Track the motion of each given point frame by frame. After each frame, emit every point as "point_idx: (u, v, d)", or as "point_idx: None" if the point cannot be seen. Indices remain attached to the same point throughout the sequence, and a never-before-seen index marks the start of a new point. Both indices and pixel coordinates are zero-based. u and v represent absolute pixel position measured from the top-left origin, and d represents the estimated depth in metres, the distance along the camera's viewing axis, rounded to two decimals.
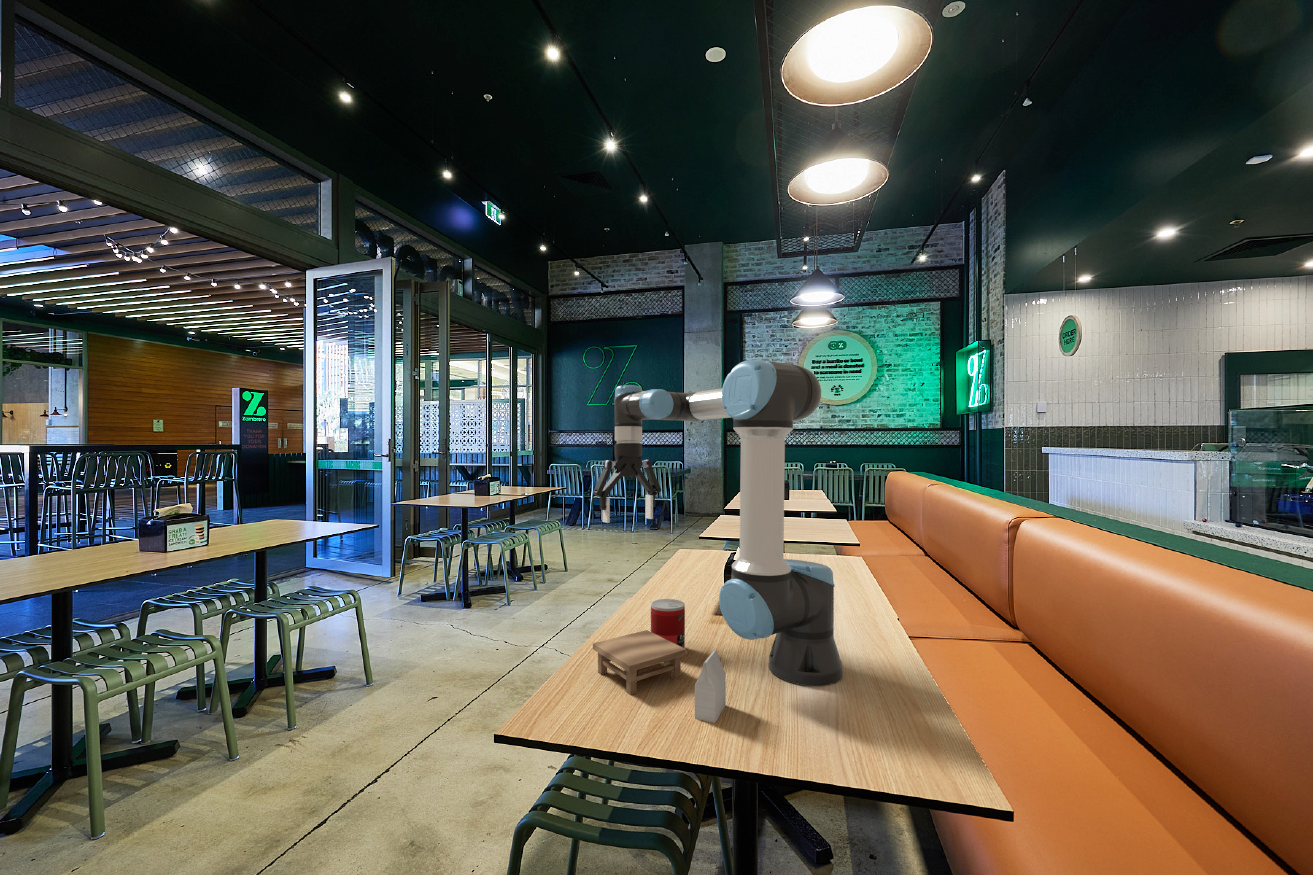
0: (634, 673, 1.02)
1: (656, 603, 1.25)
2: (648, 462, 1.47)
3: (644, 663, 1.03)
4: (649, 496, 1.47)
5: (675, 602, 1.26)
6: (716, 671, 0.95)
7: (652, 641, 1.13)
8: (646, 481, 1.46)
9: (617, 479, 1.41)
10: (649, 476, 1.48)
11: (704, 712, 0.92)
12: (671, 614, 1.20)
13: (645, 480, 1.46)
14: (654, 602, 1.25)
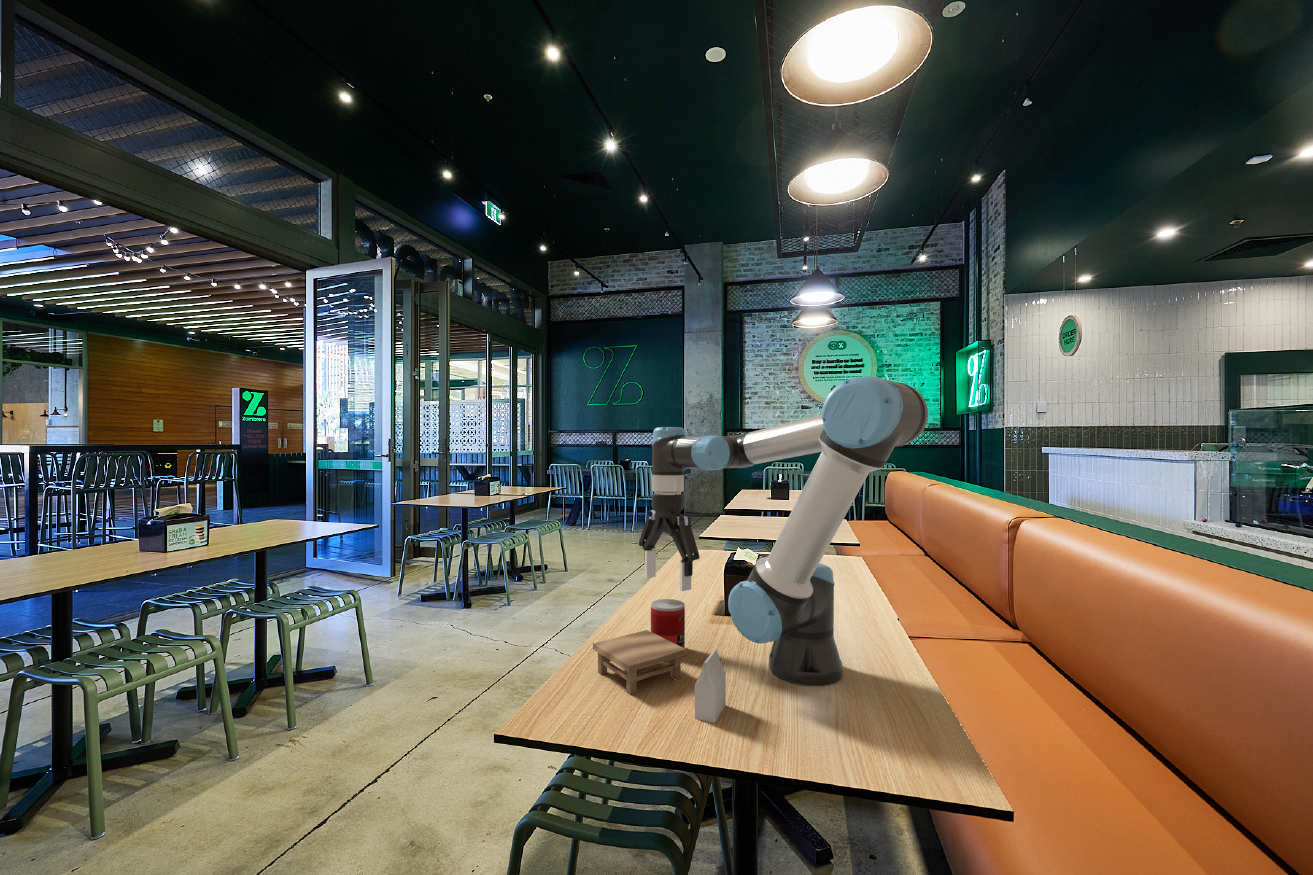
0: (634, 673, 1.02)
1: (656, 603, 1.25)
2: (679, 519, 1.19)
3: (644, 663, 1.03)
4: None
5: (675, 602, 1.26)
6: (716, 671, 0.95)
7: (652, 641, 1.13)
8: (677, 542, 1.19)
9: (653, 533, 1.27)
10: None
11: (704, 712, 0.92)
12: (671, 614, 1.20)
13: (676, 541, 1.19)
14: (654, 602, 1.25)
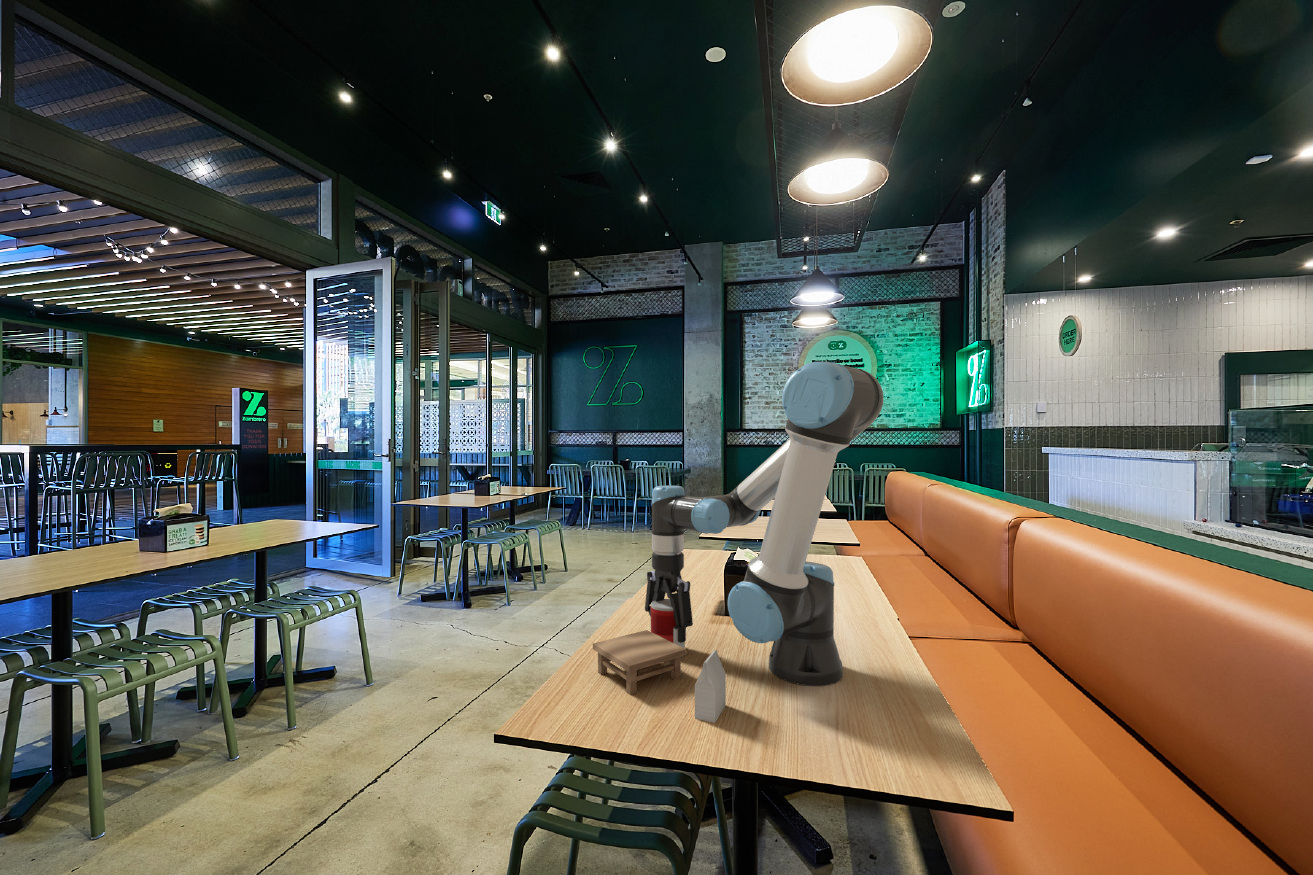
0: (634, 673, 1.02)
1: (656, 603, 1.25)
2: (679, 585, 1.19)
3: (644, 663, 1.03)
4: None
5: None
6: (716, 671, 0.95)
7: (652, 641, 1.13)
8: (673, 606, 1.20)
9: (656, 595, 1.25)
10: None
11: (704, 712, 0.92)
12: (671, 614, 1.20)
13: (672, 604, 1.20)
14: (654, 602, 1.25)
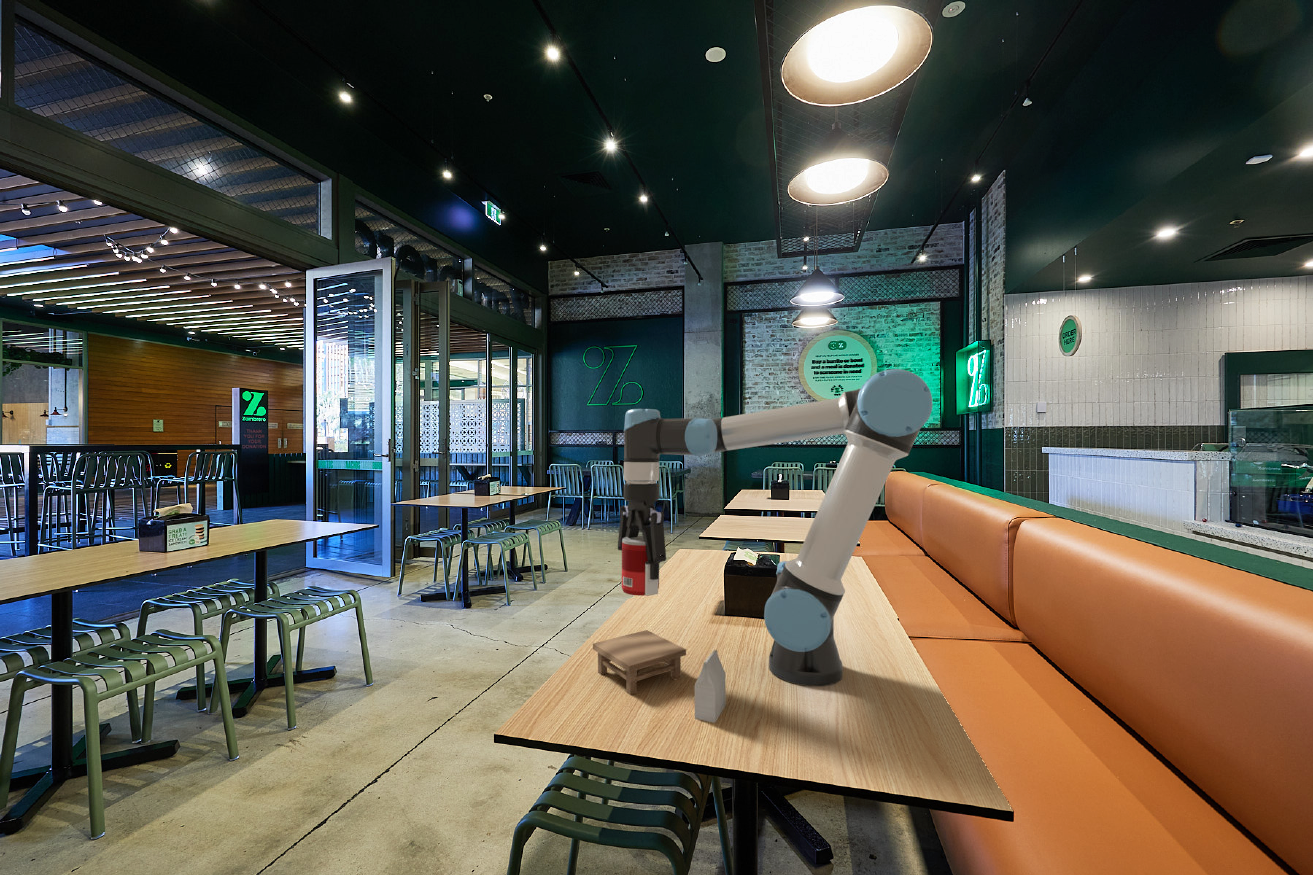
0: (634, 673, 1.02)
1: (628, 539, 1.13)
2: (651, 515, 1.07)
3: (644, 663, 1.03)
4: None
5: None
6: (716, 671, 0.95)
7: (652, 641, 1.13)
8: (645, 540, 1.08)
9: (629, 530, 1.14)
10: None
11: (704, 712, 0.92)
12: (643, 548, 1.08)
13: (645, 538, 1.08)
14: (626, 538, 1.13)
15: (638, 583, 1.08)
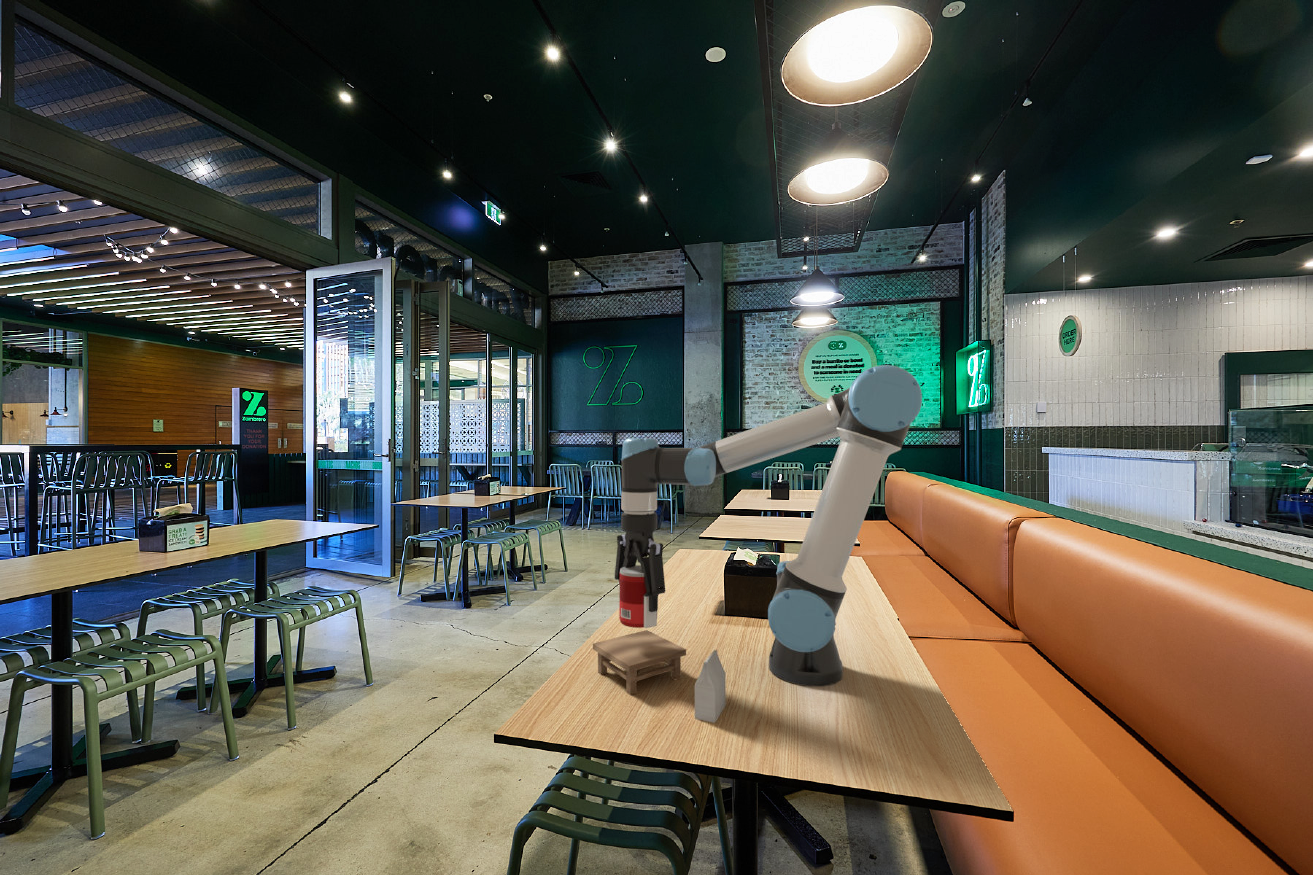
0: (634, 673, 1.02)
1: (626, 569, 1.12)
2: (650, 547, 1.05)
3: (644, 663, 1.03)
4: None
5: None
6: (716, 671, 0.95)
7: (652, 641, 1.13)
8: (644, 572, 1.07)
9: (626, 560, 1.12)
10: None
11: (704, 712, 0.92)
12: (642, 580, 1.07)
13: (643, 570, 1.07)
14: (624, 568, 1.12)
15: (637, 615, 1.07)
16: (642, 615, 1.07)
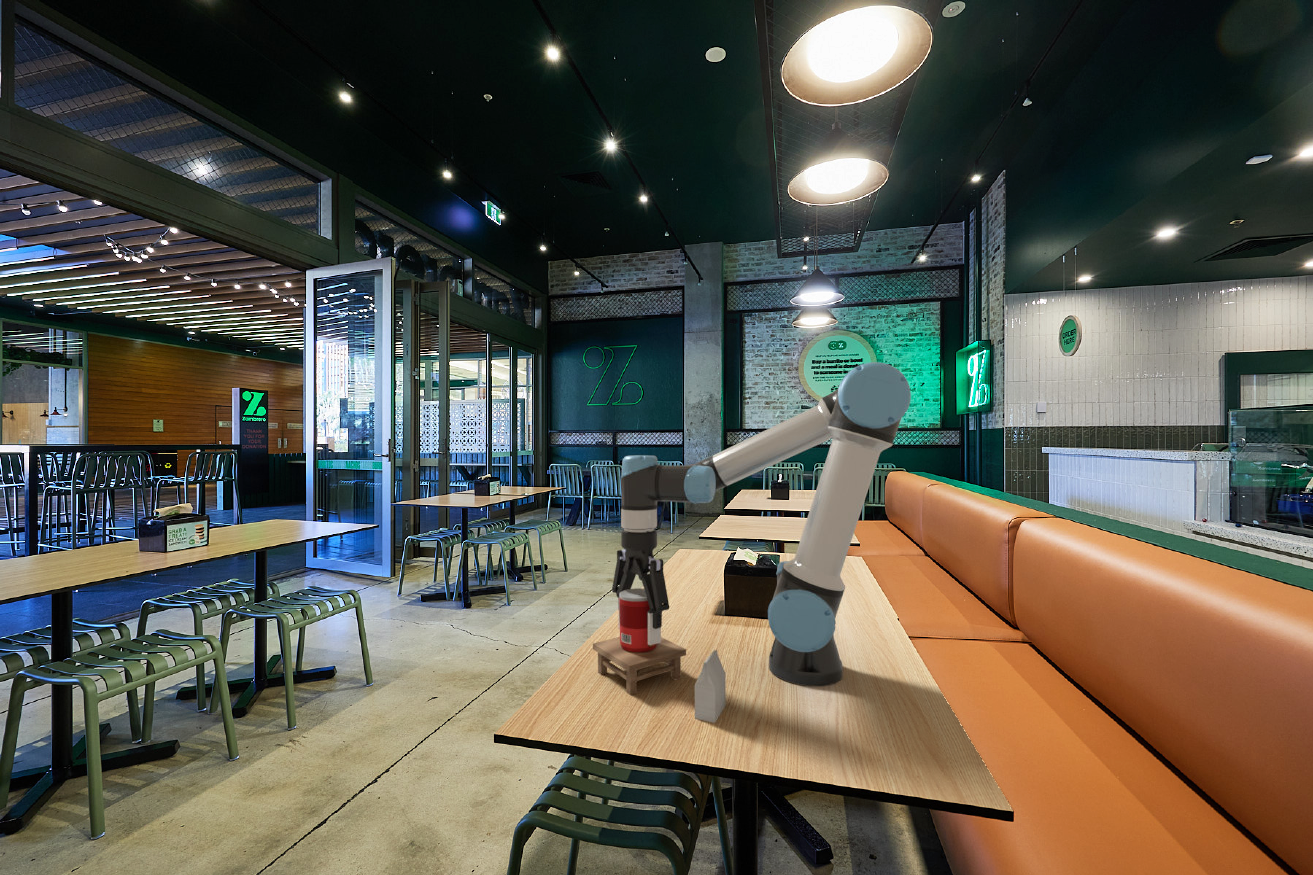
0: (634, 673, 1.02)
1: (625, 593, 1.11)
2: (651, 563, 1.05)
3: (644, 663, 1.03)
4: None
5: None
6: (716, 671, 0.95)
7: None
8: (646, 588, 1.06)
9: (625, 575, 1.13)
10: None
11: (704, 712, 0.92)
12: (641, 604, 1.07)
13: (645, 586, 1.07)
14: (623, 592, 1.12)
15: (637, 640, 1.07)
16: (642, 639, 1.07)
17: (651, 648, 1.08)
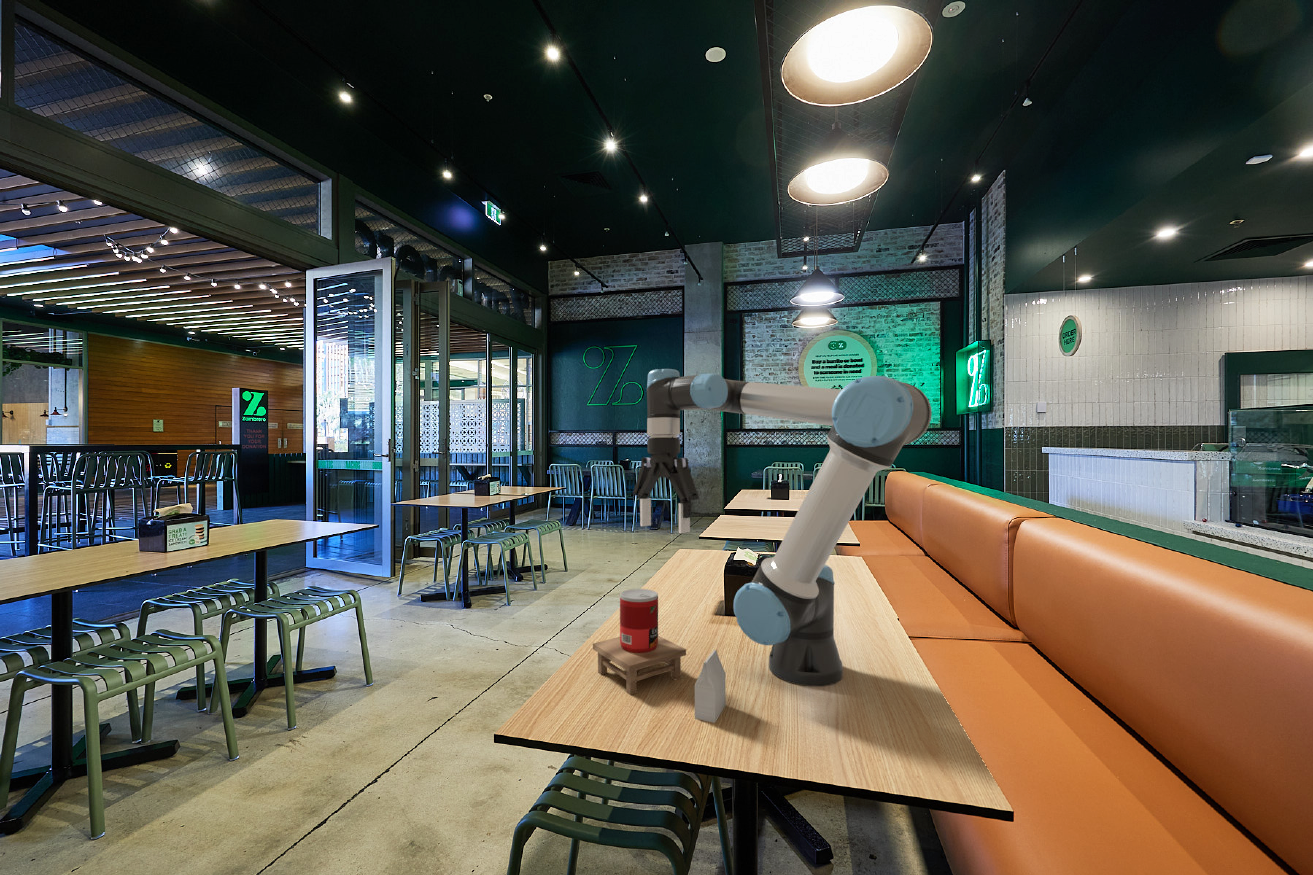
0: (634, 673, 1.02)
1: (626, 593, 1.11)
2: (677, 461, 1.17)
3: (644, 663, 1.03)
4: None
5: (648, 592, 1.12)
6: (716, 671, 0.95)
7: None
8: (675, 485, 1.17)
9: (648, 479, 1.24)
10: None
11: (704, 712, 0.92)
12: (642, 605, 1.07)
13: (674, 483, 1.18)
14: (624, 592, 1.12)
15: (638, 641, 1.07)
16: (643, 640, 1.07)
17: (651, 649, 1.08)
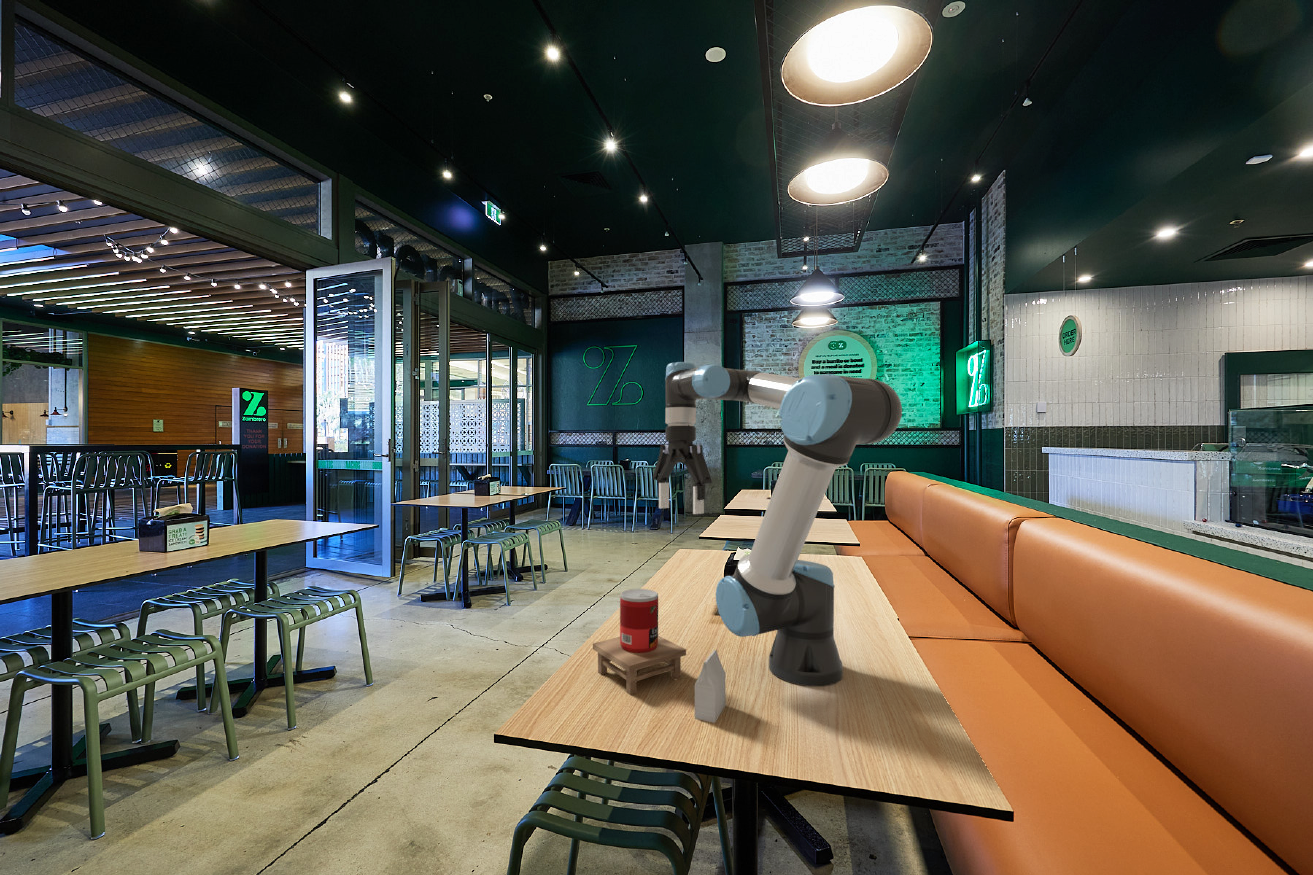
0: (634, 673, 1.02)
1: (626, 593, 1.11)
2: (692, 447, 1.26)
3: (644, 663, 1.03)
4: None
5: (648, 592, 1.12)
6: (716, 671, 0.95)
7: None
8: (690, 469, 1.27)
9: (666, 464, 1.34)
10: None
11: (704, 712, 0.92)
12: (642, 605, 1.07)
13: (689, 468, 1.27)
14: (624, 592, 1.12)
15: (638, 641, 1.07)
16: (643, 640, 1.07)
17: (651, 649, 1.08)
